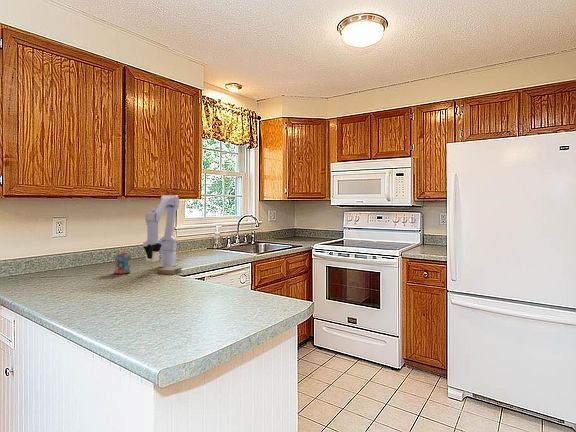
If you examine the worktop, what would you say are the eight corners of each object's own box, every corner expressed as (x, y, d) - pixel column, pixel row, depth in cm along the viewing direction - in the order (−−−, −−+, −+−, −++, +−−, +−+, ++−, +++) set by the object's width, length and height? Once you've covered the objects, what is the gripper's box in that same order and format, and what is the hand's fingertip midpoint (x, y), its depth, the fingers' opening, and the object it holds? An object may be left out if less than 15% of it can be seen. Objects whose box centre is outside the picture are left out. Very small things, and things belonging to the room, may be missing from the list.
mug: (113, 275, 196) (113, 255, 195) (112, 272, 204) (112, 253, 203) (137, 273, 201) (137, 254, 201) (135, 270, 210) (135, 252, 209)
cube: (151, 260, 207) (151, 251, 207) (159, 260, 206) (159, 251, 206) (145, 261, 202) (146, 252, 202) (153, 261, 201) (154, 252, 201)
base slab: (167, 270, 211) (167, 266, 210) (181, 271, 208) (181, 267, 208) (158, 273, 202) (158, 269, 202) (172, 274, 200) (172, 270, 200)
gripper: (154, 232, 212) (154, 255, 212) (138, 234, 198) (138, 259, 198) (164, 232, 210) (164, 256, 211) (149, 234, 196) (149, 259, 196)
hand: (152, 257), depth 204 cm, fingers closed on cube, 5 cm apart
